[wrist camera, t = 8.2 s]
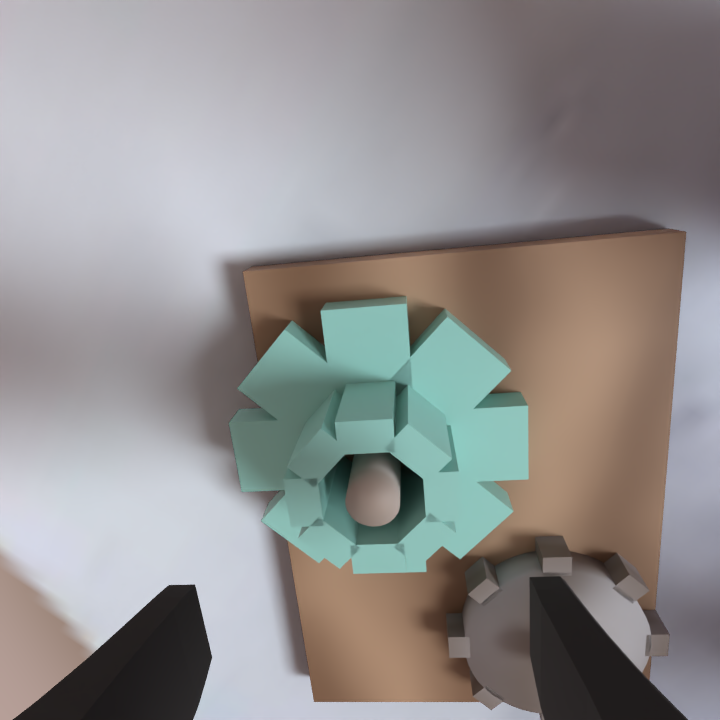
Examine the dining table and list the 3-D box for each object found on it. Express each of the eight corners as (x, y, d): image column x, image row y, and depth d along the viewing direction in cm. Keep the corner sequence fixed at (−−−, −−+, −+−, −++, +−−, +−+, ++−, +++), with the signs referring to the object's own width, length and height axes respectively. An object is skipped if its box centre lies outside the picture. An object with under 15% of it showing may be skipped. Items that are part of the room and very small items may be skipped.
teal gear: (519, 286, 17) (552, 317, 13) (522, 547, 20) (550, 635, 16) (221, 311, 18) (170, 346, 14) (265, 555, 21) (233, 640, 17)
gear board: (668, 228, 18) (770, 245, 13) (635, 676, 23) (697, 809, 18) (252, 266, 19) (198, 295, 14) (318, 678, 25) (296, 800, 20)
